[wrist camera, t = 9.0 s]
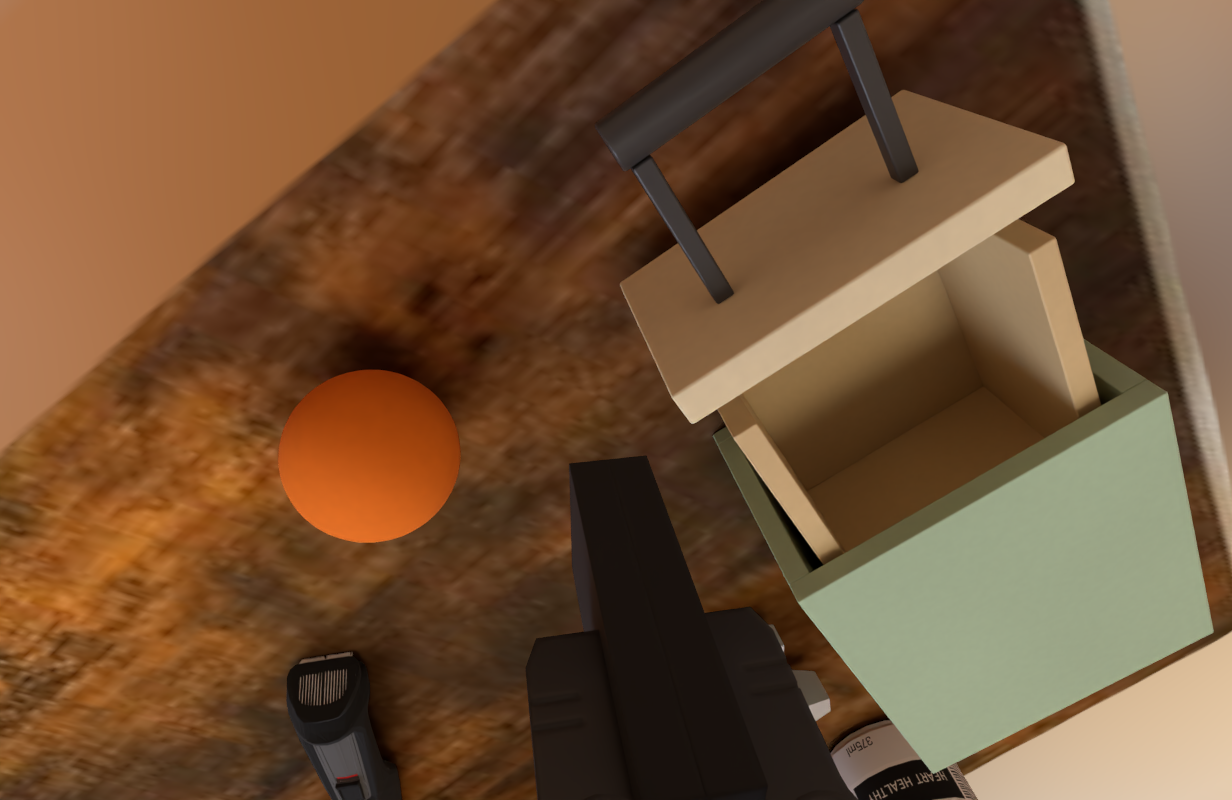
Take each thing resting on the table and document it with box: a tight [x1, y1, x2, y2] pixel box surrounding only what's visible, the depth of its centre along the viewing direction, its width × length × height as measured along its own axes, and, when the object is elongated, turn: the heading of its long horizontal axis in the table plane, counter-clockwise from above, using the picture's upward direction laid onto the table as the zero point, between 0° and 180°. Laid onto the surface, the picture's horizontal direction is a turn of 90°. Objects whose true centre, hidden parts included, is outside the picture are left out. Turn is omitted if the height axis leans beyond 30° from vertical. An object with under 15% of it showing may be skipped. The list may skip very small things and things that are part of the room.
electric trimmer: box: [286, 651, 402, 800], centre depth 37 cm, size 4×16×3 cm, turn 1°
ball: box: [278, 369, 461, 543], centre depth 25 cm, size 6×6×6 cm
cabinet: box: [713, 339, 1214, 774], centre depth 30 cm, size 15×13×10 cm
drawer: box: [595, 0, 1101, 565], centre depth 24 cm, size 20×11×8 cm, turn 33°
